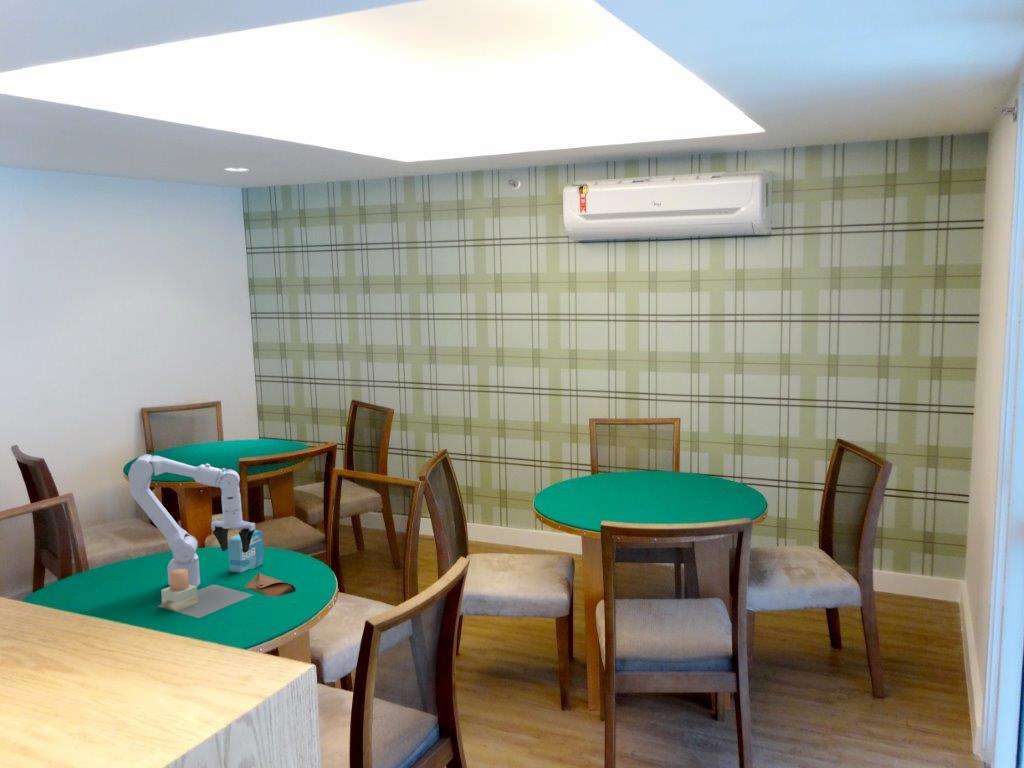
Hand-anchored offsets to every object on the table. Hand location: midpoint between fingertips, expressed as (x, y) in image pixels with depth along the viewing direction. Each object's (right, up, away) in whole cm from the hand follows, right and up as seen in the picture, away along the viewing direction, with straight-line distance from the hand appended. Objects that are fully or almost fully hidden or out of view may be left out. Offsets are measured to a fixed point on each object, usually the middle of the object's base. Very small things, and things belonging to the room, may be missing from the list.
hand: (235, 551), depth 267 cm
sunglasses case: (+12, -12, -6) cm, 18 cm away
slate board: (-4, -13, -15) cm, 20 cm away
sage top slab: (-10, -10, -19) cm, 23 cm away
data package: (-1, -9, +14) cm, 17 cm away
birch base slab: (-10, -12, -19) cm, 24 cm away
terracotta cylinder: (-10, -7, -19) cm, 23 cm away
